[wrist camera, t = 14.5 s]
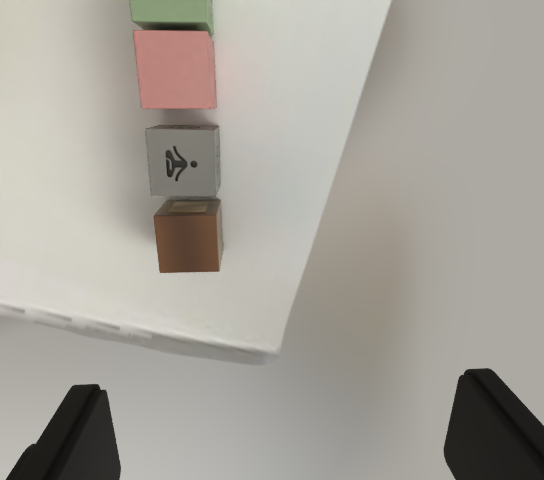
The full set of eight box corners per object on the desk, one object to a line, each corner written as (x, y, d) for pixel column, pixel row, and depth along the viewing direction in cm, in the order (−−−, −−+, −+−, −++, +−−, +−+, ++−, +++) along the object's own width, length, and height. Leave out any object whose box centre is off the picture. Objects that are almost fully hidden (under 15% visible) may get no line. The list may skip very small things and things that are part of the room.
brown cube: (220, 198, 35) (216, 213, 30) (223, 250, 36) (219, 271, 32) (165, 199, 34) (153, 214, 30) (171, 251, 36) (159, 273, 31)
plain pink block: (213, 40, 30) (207, 29, 25) (216, 107, 32) (211, 108, 27) (150, 39, 30) (132, 28, 25) (156, 107, 32) (141, 108, 27)
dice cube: (160, 124, 32) (145, 128, 27) (219, 126, 32) (214, 130, 28) (164, 182, 34) (150, 195, 29) (220, 183, 34) (215, 196, 29)
